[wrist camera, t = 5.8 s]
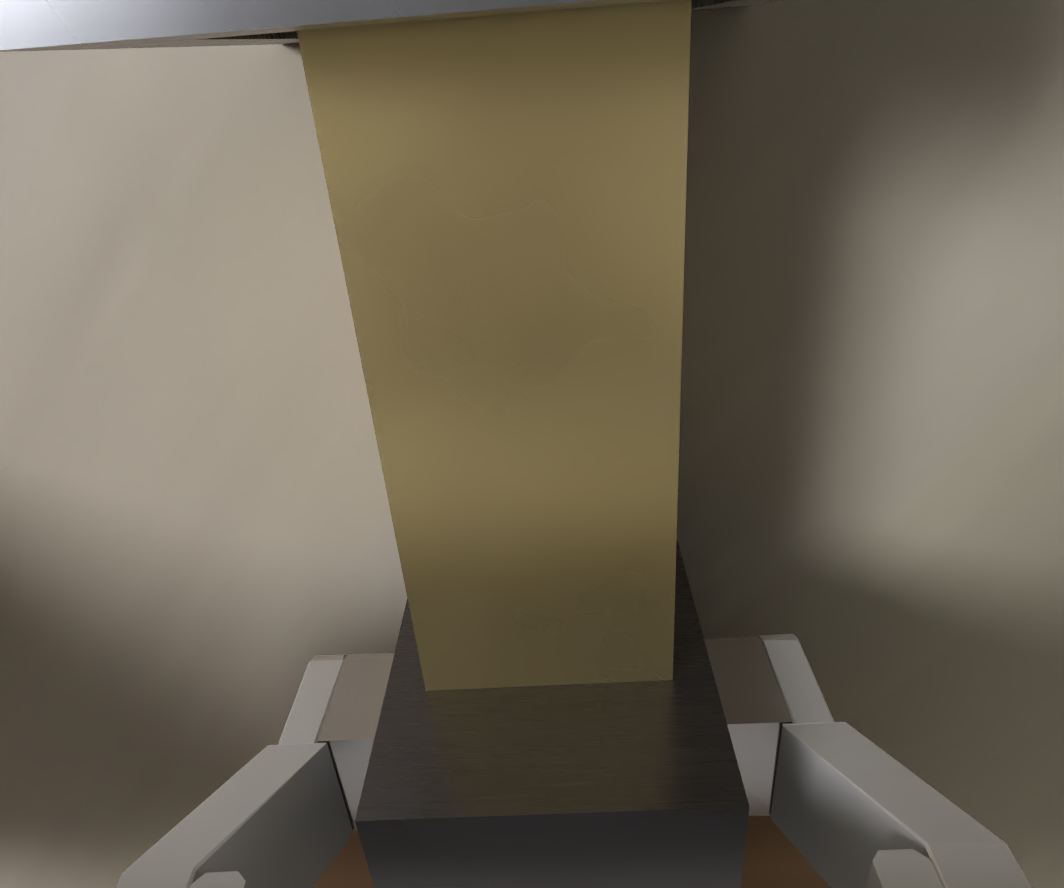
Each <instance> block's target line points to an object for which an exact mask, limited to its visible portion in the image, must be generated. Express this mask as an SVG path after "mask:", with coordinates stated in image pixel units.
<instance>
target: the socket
mask: <svg viewBox="0 0 1064 888" xmlns="http://www.w3.org/2000/svg"><path fill="white" fill-rule="evenodd" d="M313 888H374V885H373V881H372V878H371V875H370V871H369V868H368V864H367V861H366V858H365V854H364V851H363V847H362V844H361V841H360V837H359V834H358V830H353V836H352V837H351V838H350V839H349V841H348V842H347V843H346V845H345V846H344V847H343V849H342V850H341V851H340V853H339V854H338V855H337V856H336V858H335V859H334V860H333V862H332V863H331V864H330V866H329V867H328V868H327V869H326V871H325V872H324V873H323V875H322V876H321V877H320V879H319V880H318V881H317V882H316V884H315V885H314V886H313ZM741 888H831V887H830V886H829V885H828V883H827V882H826V881H825V880H824V879H823V878H822V877H821V876H820V874H819V873H818V872H817V871H816V870H815V869H814V868H813V867H812V865H811V864H810V863H809V862H808V861H807V860H806V859H805V857H804V856H803V855H802V854H801V853H800V852H799V851H798V850H797V848H796V847H795V846H794V845H793V844H792V843H791V842H790V841H789V839H788V838H787V837H786V836H785V835H784V834H783V833H782V832H781V830H780V829H779V828H778V827H777V826H776V825H775V824H774V822H773V821H772V820H771V819H770V816H748V826H747V835H746V844H745V853H744V862H743V872H742V881H741Z"/></svg>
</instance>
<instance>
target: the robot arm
mask: <svg viewBox="0 0 1064 888" xmlns="http://www.w3.org/2000/svg"><path fill="white" fill-rule="evenodd" d="M704 641H705V645H706V648H707V652H708V656H709V660H710V663H711V667H712V671H713V674H714V678H715V682H716V685H717V689H718V693H719V696H720V700H721V704H722V707H723V711H724V715H725V718H726V722H727V726H728V729H729V733H730V737H731V741H732V744H733V748H734V752H735V755H736V759H737V763H738V766H739V770H740V774H741V777H742V781H743V785H744V788H745V792H746V796H747V799H748V803H749V816H770V819H771V820H772V821H773V822H774V824H775V825H776V826H777V827H778V828H779V829H780V830H781V832H782V833H783V834H784V835H785V836H786V837H787V838H788V839H789V841H790V842H791V843H792V844H793V845H794V846H795V847H796V848H797V850H798V851H799V852H800V853H801V854H802V855H803V856H804V857H805V859H806V860H807V861H808V862H809V863H810V864H811V865H812V867H813V868H814V869H815V870H816V871H817V872H818V873H819V874H820V876H821V877H822V878H823V879H824V880H825V881H826V882H827V883H828V885H829V886H830V887H831V888H1032V886H1031V885H1030V883H1029V881H1028V880H1027V878H1026V876H1025V874H1024V873H1023V871H1022V869H1021V867H1020V866H1019V864H1018V862H1017V861H1016V859H1015V857H1014V855H1013V854H1012V852H1011V850H1010V849H1009V847H1008V845H1007V843H1005V842H1004V841H1003V840H1001V839H1000V838H999V837H997V836H996V835H995V834H993V833H992V832H991V831H989V830H988V829H987V828H985V827H984V826H983V825H981V824H980V823H979V822H977V821H976V820H975V819H973V818H972V817H971V816H969V815H968V814H967V813H966V812H964V811H963V810H962V809H960V808H959V807H958V806H956V805H955V804H954V803H952V802H951V801H950V800H948V799H947V798H946V797H944V796H943V795H942V794H940V793H939V792H938V791H936V790H935V789H934V788H932V787H931V786H930V785H928V784H927V783H926V782H925V781H923V780H922V779H921V778H919V777H918V776H917V775H915V774H914V773H913V772H911V771H910V770H909V769H907V768H906V767H905V766H903V765H902V764H901V763H899V762H898V761H897V760H895V759H894V758H893V757H891V756H890V755H889V754H887V753H886V752H885V751H884V750H882V749H881V748H880V747H878V746H877V745H876V744H874V743H873V742H872V741H870V740H869V739H868V738H866V737H865V736H864V735H862V734H861V733H860V732H858V731H857V730H856V729H854V728H853V727H852V726H850V725H849V724H848V723H847V722H835V721H834V719H833V717H832V715H831V712H830V710H829V708H828V706H827V703H826V701H825V699H824V696H823V694H822V692H821V690H820V687H819V685H818V683H817V680H816V678H815V676H814V674H813V671H812V669H811V667H810V664H809V662H808V660H807V658H806V655H805V653H804V651H803V648H802V646H801V644H800V642H799V639H798V638H797V637H796V636H795V635H794V634H793V633H792V634H775V635H759V636H758V637H757V636H744V637H726V638H708V639H704ZM394 654H395V653H367V654H348V655H315V656H314V657H313V658H312V660H311V661H310V662H309V663H308V665H307V668H306V671H305V673H304V676H303V679H302V681H301V684H300V687H299V689H298V692H297V695H296V697H295V700H294V703H293V705H292V708H291V711H290V713H289V716H288V718H287V721H286V724H285V726H284V729H283V732H282V734H281V737H280V740H279V742H278V745H267V746H266V747H265V748H264V749H263V750H262V751H260V752H259V753H258V754H257V755H256V756H255V757H254V758H252V759H251V760H250V761H249V762H248V763H247V764H246V765H244V766H243V767H242V768H241V769H240V770H239V771H238V772H236V773H235V774H234V775H233V776H232V777H231V778H230V779H228V780H227V781H226V782H225V783H224V784H223V785H222V786H220V787H219V788H218V789H217V790H216V791H215V792H214V793H212V794H211V795H210V796H209V797H208V798H207V799H206V800H204V801H203V802H202V803H201V804H200V805H199V806H198V807H196V808H195V809H194V810H193V811H192V812H191V813H190V814H188V815H187V816H186V817H185V818H184V819H183V820H182V821H180V822H179V823H178V824H177V825H176V826H175V827H174V828H172V829H171V830H170V831H169V832H168V833H167V834H166V835H164V836H163V837H162V838H161V839H160V840H159V841H158V842H156V843H155V844H154V845H153V846H152V847H151V848H150V849H148V850H147V851H146V852H145V853H144V854H143V855H142V856H140V857H139V858H138V859H137V860H136V861H135V862H134V863H132V864H131V865H130V866H129V867H128V868H127V869H126V870H124V871H123V873H122V875H121V877H120V879H119V881H118V883H117V885H116V886H115V888H313V886H314V885H315V884H316V882H317V881H318V880H319V879H320V877H321V876H322V875H323V873H324V872H325V871H326V869H327V868H328V867H329V866H330V864H331V863H332V862H333V860H334V859H335V858H336V856H337V855H338V854H339V853H340V851H341V850H342V849H343V847H344V846H345V845H346V843H347V842H348V841H349V839H350V838H351V837H352V836H353V830H357V827H356V824H355V818H356V814H357V810H358V806H359V801H360V797H361V793H362V789H363V784H364V780H365V776H366V772H367V768H368V763H369V759H370V755H371V751H372V746H373V742H374V738H375V734H376V730H377V725H378V721H379V717H380V713H381V708H382V704H383V700H384V696H385V692H386V687H387V683H388V679H389V675H390V670H391V666H392V662H393V658H394Z"/></svg>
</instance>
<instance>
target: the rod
mask: <svg viewBox="0 0 1064 888" xmlns="http://www.w3.org/2000/svg"><path fill="white" fill-rule="evenodd" d="M691 1H692V0H666V1H654V2H642V3H630V4H617V5H605V6H593V7H581V8H569V9H557V10H545V11H533V12H521V13H509V14H497V15H485V16H472V17H460V18H448V19H436V20H424V21H412V22H400V23H388V24H376V25H364V26H352V27H340V28H327V29H315V30H303V31H297V34H298V40H299V45H300V50H301V55H302V60H303V65H304V70H305V75H306V81H307V86H308V91H309V96H310V101H311V106H312V111H313V116H314V121H315V127H316V132H317V137H318V142H319V147H320V152H321V157H322V162H323V167H324V173H325V178H326V183H327V188H328V193H329V198H330V203H331V208H332V214H333V219H334V224H335V229H336V234H337V239H338V244H339V249H340V254H341V260H342V265H343V270H344V275H345V280H346V285H347V290H348V295H349V301H350V306H351V311H352V316H353V321H354V326H355V331H356V336H357V341H358V347H359V352H360V357H361V362H362V367H363V372H364V377H365V382H366V387H367V393H368V398H369V403H370V408H371V413H372V418H373V423H374V428H375V434H376V439H377V444H378V449H379V454H380V459H381V464H382V469H383V474H384V480H385V485H386V490H387V495H388V500H389V505H390V510H391V515H392V521H393V526H394V531H395V536H396V541H397V546H398V551H399V556H400V561H401V567H402V572H403V577H404V582H405V587H406V592H407V597H408V599H407V603H406V607H405V611H404V616H403V620H402V624H401V628H400V632H399V637H398V641H397V645H396V649H395V654H394V658H393V662H392V666H391V670H390V675H389V679H388V683H387V687H386V692H385V696H384V700H383V704H382V708H381V713H380V717H379V721H378V725H377V730H376V734H375V738H374V742H373V746H372V751H371V755H370V759H369V763H368V768H367V772H366V776H365V780H364V784H363V789H362V793H361V797H360V801H359V806H358V810H357V814H356V818H355V824H356V827H357V830H358V834H359V837H360V841H361V844H362V847H363V851H364V854H365V858H366V861H367V864H368V868H369V871H370V875H371V878H372V881H373V885H374V888H741V881H742V872H743V862H744V853H745V844H746V835H747V826H748V816H749V803H748V799H747V796H746V792H745V788H744V785H743V781H742V777H741V774H740V770H739V766H738V763H737V759H736V755H735V752H734V748H733V744H732V741H731V737H730V733H729V729H728V726H727V722H726V718H725V715H724V711H723V707H722V704H721V700H720V696H719V693H718V689H717V685H716V682H715V678H714V674H713V671H712V667H711V663H710V660H709V656H708V652H707V648H706V645H705V641H704V637H703V634H702V630H701V626H700V623H699V619H698V615H697V612H696V608H695V604H694V601H693V597H692V593H691V590H690V586H689V582H688V579H687V575H686V571H685V567H684V564H683V560H682V556H681V553H680V549H679V545H678V542H677V506H678V470H679V434H680V398H681V362H682V326H683V290H684V253H685V217H686V181H687V145H688V109H689V73H690V37H691Z"/></svg>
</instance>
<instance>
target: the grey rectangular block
mask: <svg viewBox="0 0 1064 888" xmlns="http://www.w3.org/2000/svg"><path fill="white" fill-rule="evenodd" d="M654 1H666V0H0V52H5V51H42V50H79V49H117V48H154V47H191V46H229V45H266V44H287V43H299V40H298V34H297V31H303V30H315V29H327V28H340V27H352V26H364V25H376V24H388V23H400V22H412V21H424V20H436V19H448V18H460V17H472V16H485V15H497V14H509V13H521V12H533V11H545V10H557V9H569V8H581V7H593V6H605V5H617V4H630V3H642V2H654ZM777 1H783V0H692V1H691V10H701V9H713V8H725V7H738V6H750V5H757V4H764V3H770V2H777Z"/></svg>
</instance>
